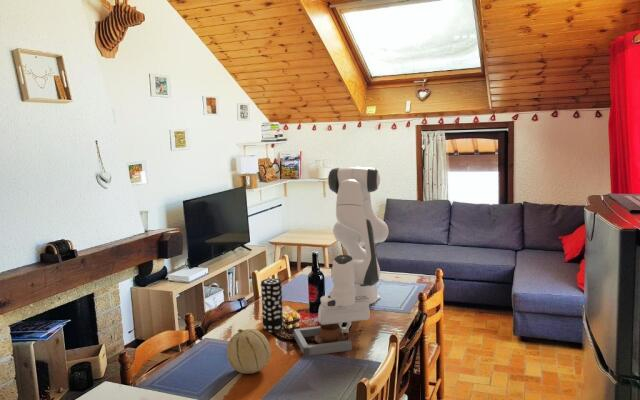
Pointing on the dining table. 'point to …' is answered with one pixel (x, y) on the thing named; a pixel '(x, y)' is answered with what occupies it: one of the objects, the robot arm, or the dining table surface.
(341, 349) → the grey u-shaped bar
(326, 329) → the cup and saucer
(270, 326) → the white-spotted black cylinder
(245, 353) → the cantaloupe
